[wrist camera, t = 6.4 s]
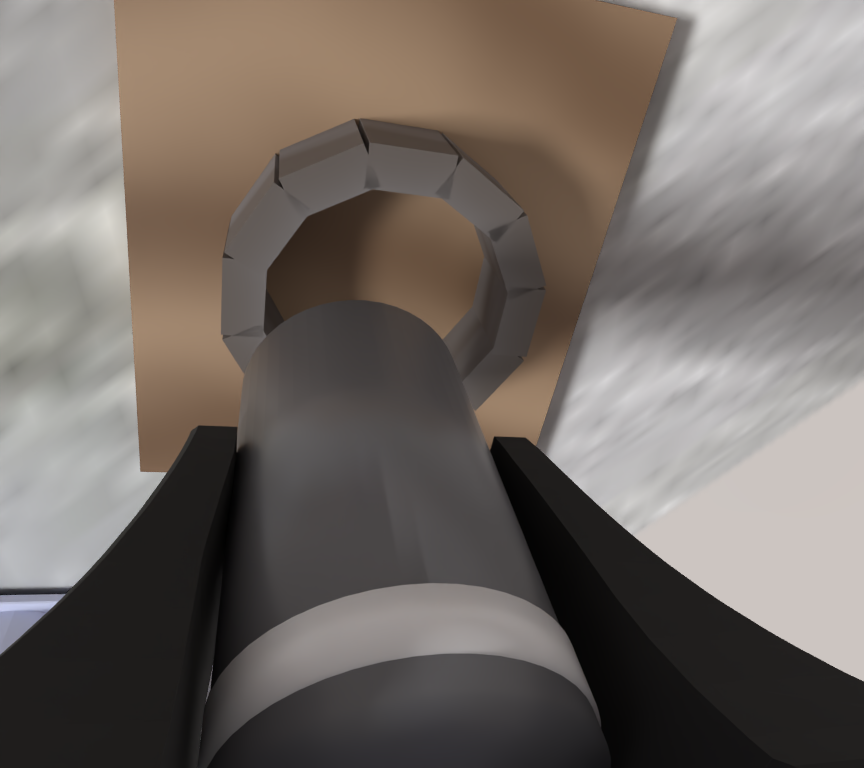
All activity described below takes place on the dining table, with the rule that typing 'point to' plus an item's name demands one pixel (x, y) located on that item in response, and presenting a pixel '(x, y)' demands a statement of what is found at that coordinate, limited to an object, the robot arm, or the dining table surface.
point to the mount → (370, 183)
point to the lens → (381, 570)
